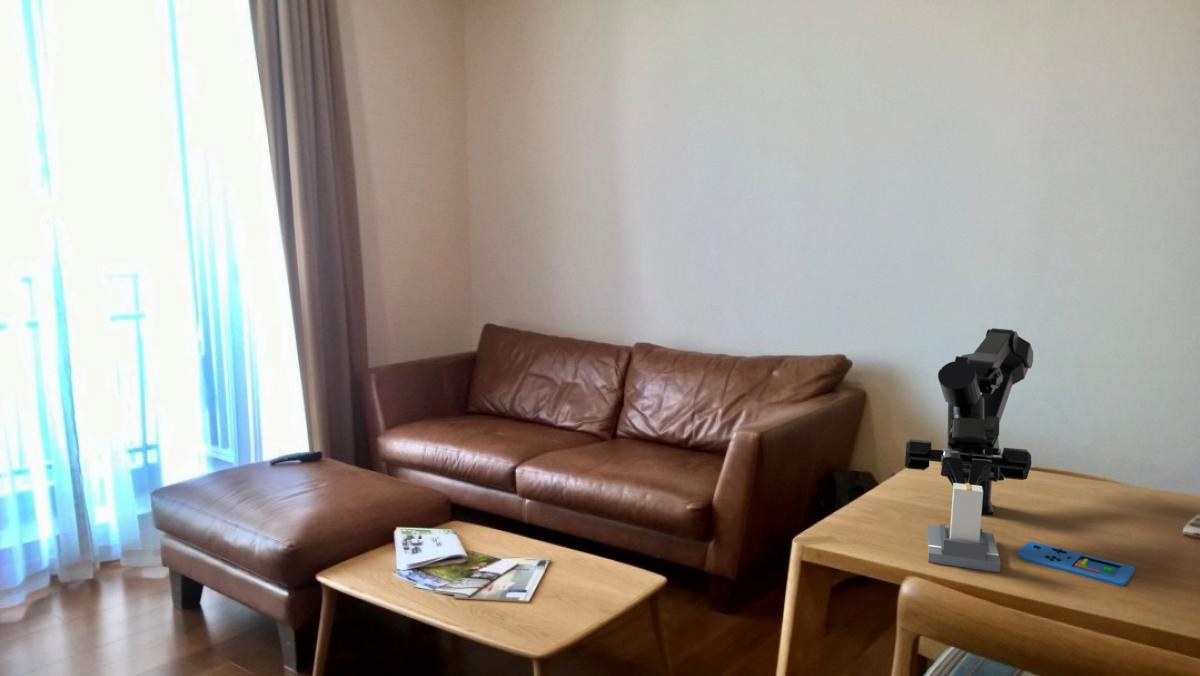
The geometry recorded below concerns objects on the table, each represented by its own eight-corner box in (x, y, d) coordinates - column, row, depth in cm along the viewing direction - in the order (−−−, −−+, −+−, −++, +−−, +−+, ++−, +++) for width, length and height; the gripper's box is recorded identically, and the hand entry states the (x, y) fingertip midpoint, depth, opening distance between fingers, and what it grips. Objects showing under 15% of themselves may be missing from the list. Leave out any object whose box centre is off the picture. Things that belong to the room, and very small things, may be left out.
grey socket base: (927, 533, 140) (928, 510, 140) (992, 541, 137) (994, 518, 136) (928, 562, 128) (929, 538, 128) (999, 572, 125) (1001, 547, 124)
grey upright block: (949, 544, 131) (953, 481, 129) (976, 547, 129) (981, 484, 128) (949, 551, 128) (954, 487, 127) (978, 555, 127) (983, 490, 125)
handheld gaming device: (1029, 538, 136) (1136, 565, 126) (1029, 545, 136) (1135, 572, 126) (1013, 553, 130) (1124, 582, 120) (1012, 559, 130) (1123, 589, 120)
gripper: (909, 392, 138) (905, 476, 129) (1034, 401, 132) (1039, 489, 123) (906, 426, 146) (902, 507, 138) (1024, 436, 140) (1027, 522, 132)
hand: (965, 506), depth 132 cm, fingers closed
